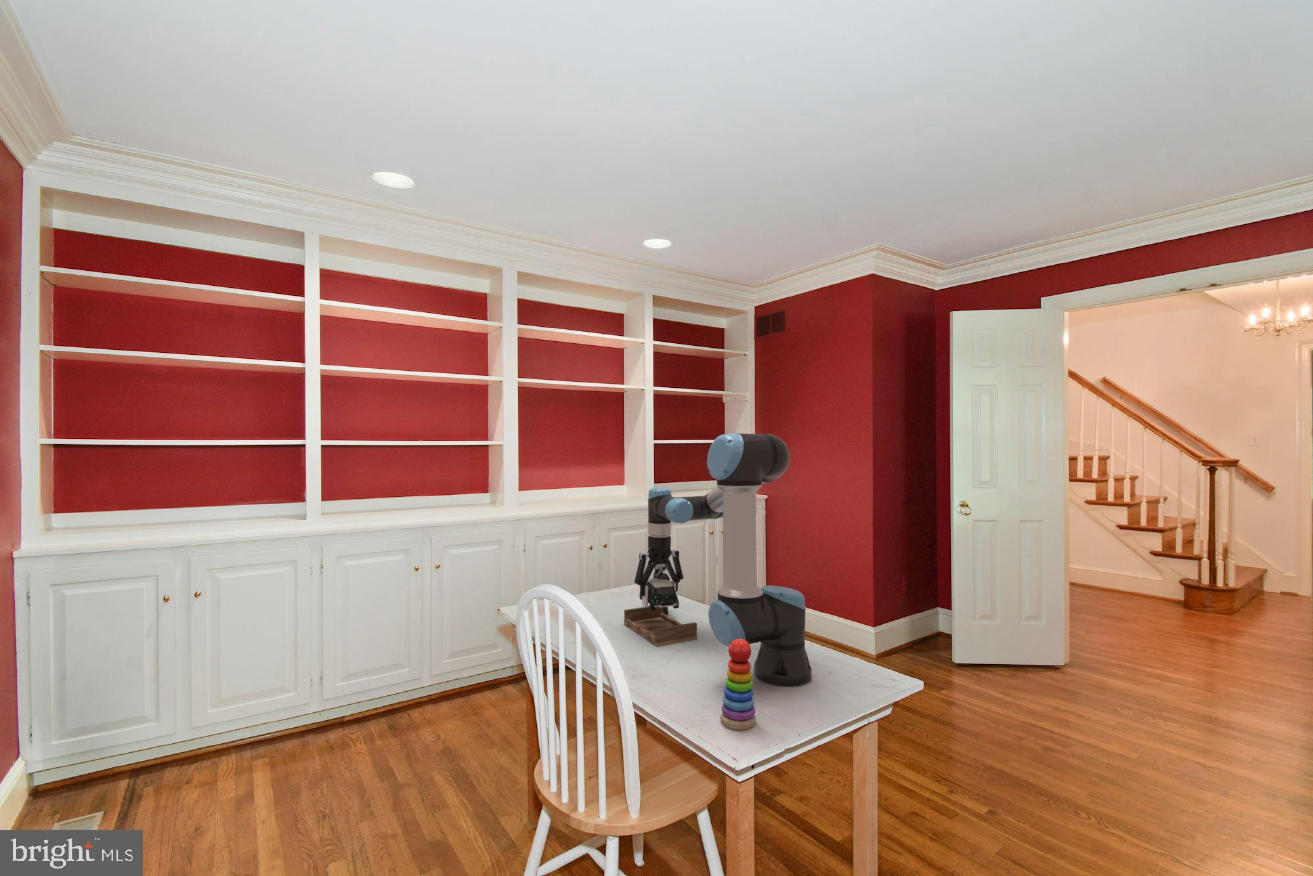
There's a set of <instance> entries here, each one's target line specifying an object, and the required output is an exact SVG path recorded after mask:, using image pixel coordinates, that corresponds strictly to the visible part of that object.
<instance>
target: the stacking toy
mask: <svg viewBox="0 0 1313 876" xmlns="http://www.w3.org/2000/svg"><path fill="white" fill-rule="evenodd" d="M728 656H729V657H730V660H728V662H727V666H728V670H727V672H726V675H727V678H726V679H725V687H724V688H723V694H724V695H723V696H722V705H721V713H720V718H719V719H720V721H721V723H722V725H724V726H725V727H727V728H729V729H732V730H738V731H739V730H740V731H742V730H743V731H744V730H748V729H750V728H752V727H754V726H755V724H756V723H757V716H756V706H755V699H754V697H753V696H754V690H753V687H754V684H753V683H754V682H753V680H752V677H753V673H752V671H751V668H752V664H751V662H750V661H749V659H750V658H751V656H752V647H751V644H749V643H748V642H747V641H745V640H743V639H735V640H733V641H732V642H731V643H730V645H729V647H728Z"/></svg>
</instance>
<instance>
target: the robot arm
mask: <svg viewBox="0 0 1313 876" xmlns="http://www.w3.org/2000/svg"><path fill="white" fill-rule="evenodd" d="M707 452H708V453H707V458H706V465H707V470H709V476H711V478H713V479H715V480H716V487H714V488H713V489H712V490H710V491H709V492H708V493H706V494H705V495H694V496H673V495H672V490H671V489H670V488H667V487H652V488H650V489H649V490H648V496H647V497H648V498H647V506H648V507H647V508H648V509H647V515H648V517H647V519H648V520H647V522H648V523H647V525H648V527H647V533H648V536H647V548H648V549H647V552H645V553H642V552H640V553H639V554H638V557H639V559H638V564H637V569H636V573H635V578H634V581H633V582H634V584H636V585H637V586H639V594H640V595H641V596H642V600H641V605H642V607H648V606H649V603H648V586H646V584H647V582H648V581H649V580H650V577H651V576H652V573H653V571H654V570H655V569H654V567H655V566H656V565H659V564H664V565H665V567H666V570H667V573H668V574H669V577H670V579H671V580H670V581H669V582H670V583H672V584H673V585H674V589H675V591H676V593H677V592H678V590H679V583H680V582H681V581H683V579H684V574H683V569H682V566H681V561H680V551H679V550H676V549H673V550H672V549H671V547H672V537H671V535H672V522H673V523H675V524H685V523H687V522H690V521H699V520H700V521H701V520H716V519H717V520H718V519H721V518H722V545H723V546H722V549H723V551H722V557H723V558H722V563H723V565H722V566H723V567H722V568H723V569H722V571H723V574H722V575H723V580H722V581H723V584H722V586H720V587H719V588H718V590H717V600H714V601H712V602H711V604H710V605H709V608H708V615H707V616H708V621H709V626H710V629H711V630H712V633H713V635H714V636H715V637H714V638H716V640H717V641H718V642H719V643H720V644H722V645H723V646H724V647H728V648H729V645H730V643H731V642H732V641H733V640H735V639H743V640H745V641H747V642H748V643H749V645H751V644H752V645H753V644H756V643H760V646H759V649H758V652H757V655H756V659H755V661H754V665H753V675H754V677H756V678H757V679H758V680H760V681H762V682H764V683H767V684H768V685H769V684H770V685H775V686H781V687H798V686H802V685H805V684H808V683H809V682H810V681H811V680H812V673H813V671H812V667H811V662H810V660H809V657H808V654H807V653H808V652H807V650H806V610H807V608H806V602H805V601H806V599H805V595H804V594H803V593H802V592H800V591H799V590H796V589H793V588H790V587H785V586H778V585H763V586H762V587H761V588H760V587H759V586H758V565H757V564H758V561H757V559H758V558H757V556H758V554H757V553H758V552H757V550H758V549H757V543H758V542H757V540H758V539H757V538H758V537H757V492H758V491H759V490H760V489H761V488H762V486H763V484H770V483H771V484H772V483H773V482H775V481H776V480H778V479H779V478H780V477H781V476H783V474H785V473H786V471H787V470H788V469H789V466H790V464H791V463H790V462H791V453H790V449H789V448H788V446H787V444H786V442H785V441H784V440H783V439H781V438H780V437H778V436H776V435H774V434H772V433H741V432H739V433H737V432H734V433H726V434H725V433H724V434H721V435H718V436H717V437H716V438H715V439H714V441H713V442H712V443H711V444H710V447H709V449H708V451H707ZM670 557H672V562H671V560H670ZM648 558H649V559H648ZM647 560H648V562H647ZM646 563H647V564H646ZM672 563H673V566H674V567H673V566H672Z"/></svg>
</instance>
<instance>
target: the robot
mask: <svg viewBox="0 0 1313 876" xmlns="http://www.w3.org/2000/svg"><path fill="white" fill-rule="evenodd" d="M653 570H654V573H653V577H651V578H649V580H654V579H665V580H668V581H669V582H670V581H671V580H670V579H671V578H670V575H668V574H667V573H666V572H665V571H666V570H667V569H666V567H665V565H664V564H659V565H656V566H655V567H654V569H653ZM664 572H665V573H664ZM663 613H664V614H665V615H667V616H669V608H668V607H663Z"/></svg>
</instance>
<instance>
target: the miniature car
mask: <svg viewBox="0 0 1313 876" xmlns="http://www.w3.org/2000/svg"><path fill="white" fill-rule="evenodd" d="M646 586H648V605H649V606H650V609H651V610H652V611H653V610H656V607H660V608H661V607H672V608H673V609H679V608H680V602H679V598H678V597H679V596H678V595H677V592H676V591H675V589H674V585H673V584H672V583H670V581H668V580H665V579H654V580H650V579H649V580H648V582H647V584H646ZM639 599H640V600H641V601H642V596H641V595H640V593H639Z"/></svg>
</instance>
